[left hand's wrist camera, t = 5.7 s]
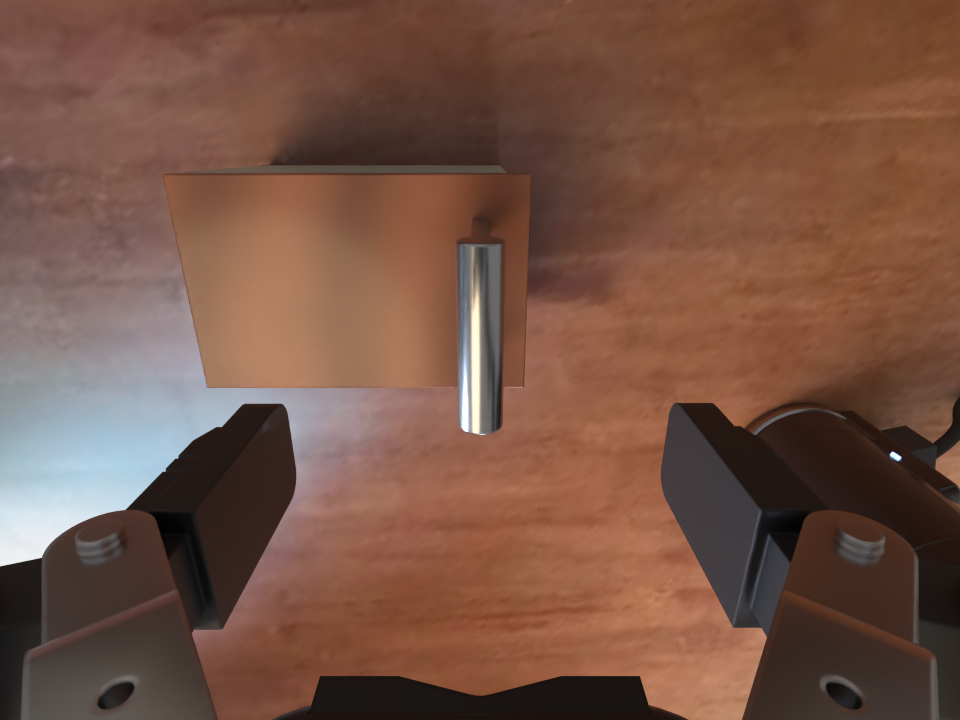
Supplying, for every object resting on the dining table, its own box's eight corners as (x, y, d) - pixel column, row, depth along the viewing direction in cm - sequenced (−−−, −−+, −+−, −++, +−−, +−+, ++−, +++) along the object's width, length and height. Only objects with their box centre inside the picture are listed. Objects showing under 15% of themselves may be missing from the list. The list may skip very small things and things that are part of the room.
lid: (528, 172, 23) (555, 186, 15) (522, 377, 26) (540, 476, 19) (177, 173, 23) (18, 186, 15) (218, 378, 26) (107, 476, 18)
